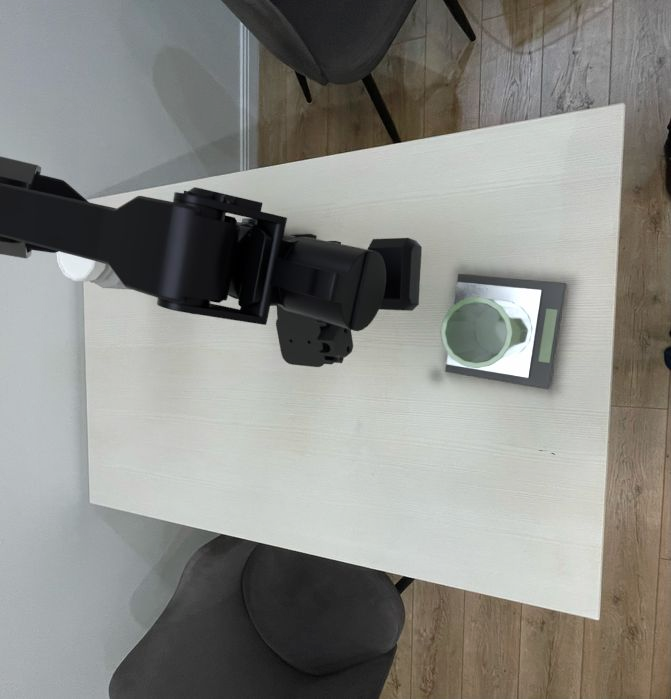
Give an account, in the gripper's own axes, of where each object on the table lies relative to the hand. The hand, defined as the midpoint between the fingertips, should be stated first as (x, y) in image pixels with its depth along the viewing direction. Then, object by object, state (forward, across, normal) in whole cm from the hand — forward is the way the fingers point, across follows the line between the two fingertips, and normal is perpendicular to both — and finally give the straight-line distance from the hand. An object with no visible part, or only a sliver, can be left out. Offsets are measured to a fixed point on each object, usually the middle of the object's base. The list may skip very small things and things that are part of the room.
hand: (365, 281), depth 58 cm
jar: (+10, -41, +4) cm, 43 cm away
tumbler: (+11, +12, -5) cm, 17 cm away
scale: (+14, +12, -5) cm, 19 cm away
